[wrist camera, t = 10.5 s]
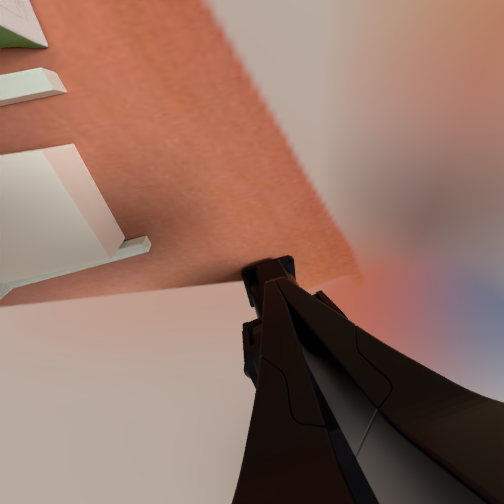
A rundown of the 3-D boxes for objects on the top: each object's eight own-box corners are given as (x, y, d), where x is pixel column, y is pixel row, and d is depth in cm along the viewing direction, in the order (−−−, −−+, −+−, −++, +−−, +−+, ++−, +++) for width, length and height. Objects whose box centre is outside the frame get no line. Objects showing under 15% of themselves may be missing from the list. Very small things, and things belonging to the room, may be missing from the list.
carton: (126, 236, 20) (111, 259, 16) (29, 256, 19) (-7, 285, 15) (75, 143, 15) (40, 149, 12) (-56, 163, 14) (-133, 175, 11)
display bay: (151, 243, 20) (139, 275, 16) (13, 280, 19) (-38, 324, 15) (56, 72, 13) (-12, 49, 9) (-177, 118, 12) (-378, 116, 8)
